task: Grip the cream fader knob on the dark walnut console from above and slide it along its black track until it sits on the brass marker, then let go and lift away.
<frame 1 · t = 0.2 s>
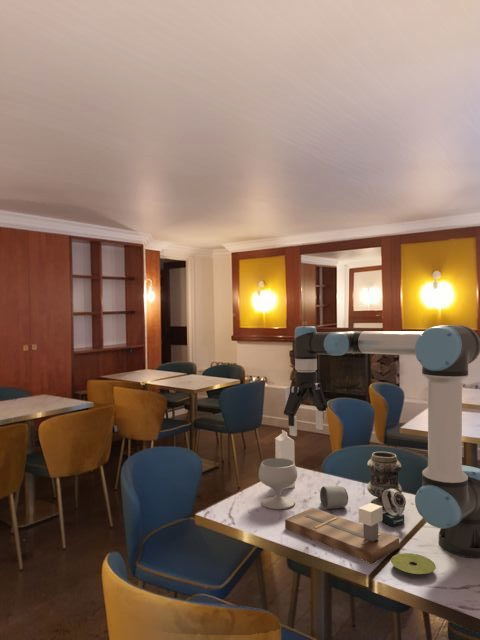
hand: (306, 432, 171), 28 cm above the table, tool pointing down, fingers open, 13 cm apart
chalice: (278, 504, 179), on the table
watch: (393, 524, 161), on the table
ceramic mug: (331, 506, 177), on the table
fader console: (339, 537, 151), on the table
mat: (412, 570, 131), on the table
milk: (285, 486, 198), on the table
apothecary jar: (384, 504, 178), on the table
fader knob: (370, 522, 143), point 8 cm above the table, slide at 0.0 cm
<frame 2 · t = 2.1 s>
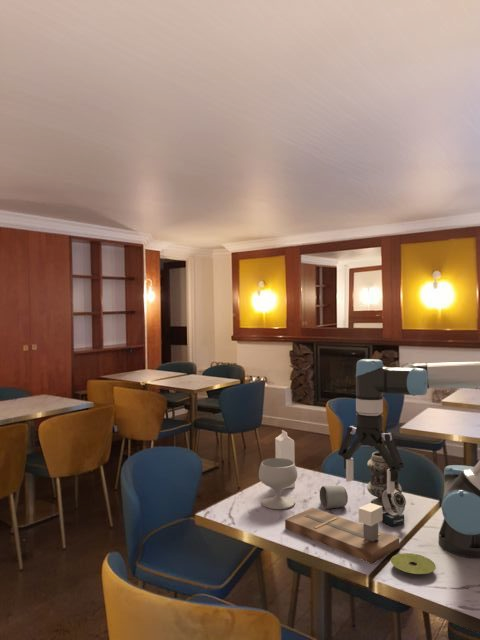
hand: (369, 486, 143), 18 cm above the table, tool pointing down, fingers open, 13 cm apart
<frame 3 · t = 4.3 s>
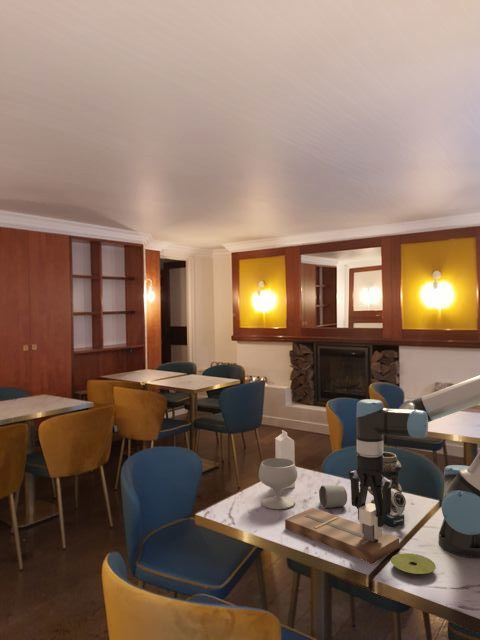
hand: (370, 534, 143), 4 cm above the table, tool pointing down, fingers closed on fader knob, 4 cm apart
fader knob: (370, 522, 143), point 8 cm above the table, slide at 0.0 cm, touching gripper
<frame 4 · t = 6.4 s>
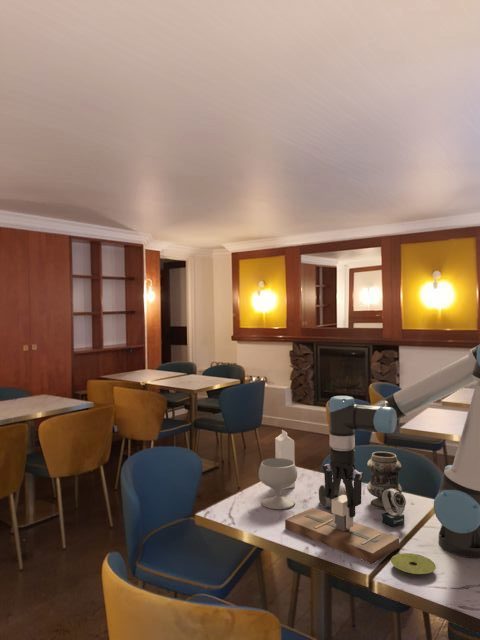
hand: (343, 524, 150), 4 cm above the table, tool pointing down, fingers closed on fader knob, 4 cm apart
fader knob: (343, 513, 150), point 8 cm above the table, slide at 9.7 cm, touching gripper
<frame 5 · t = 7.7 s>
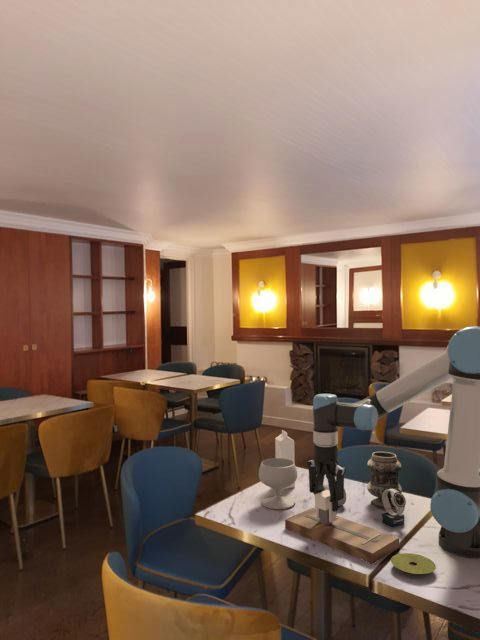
hand: (326, 518, 155), 4 cm above the table, tool pointing down, fingers closed on fader knob, 4 cm apart
fader knob: (326, 507, 155), point 8 cm above the table, slide at 15.9 cm, touching gripper
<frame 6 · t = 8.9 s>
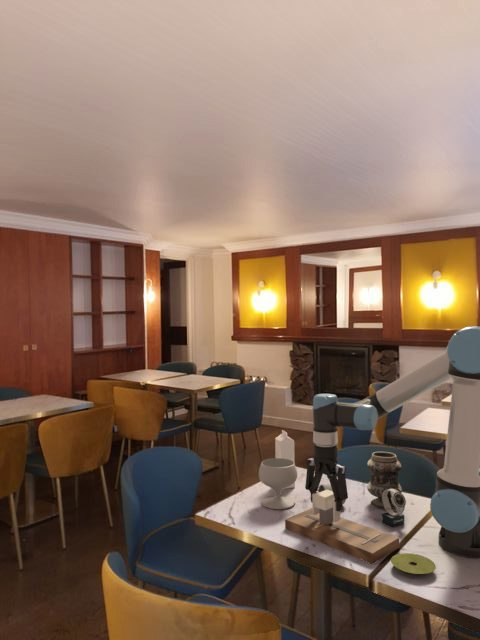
hand: (326, 517, 155), 5 cm above the table, tool pointing down, fingers open, 7 cm apart
fader knob: (326, 507, 155), point 8 cm above the table, slide at 16.0 cm
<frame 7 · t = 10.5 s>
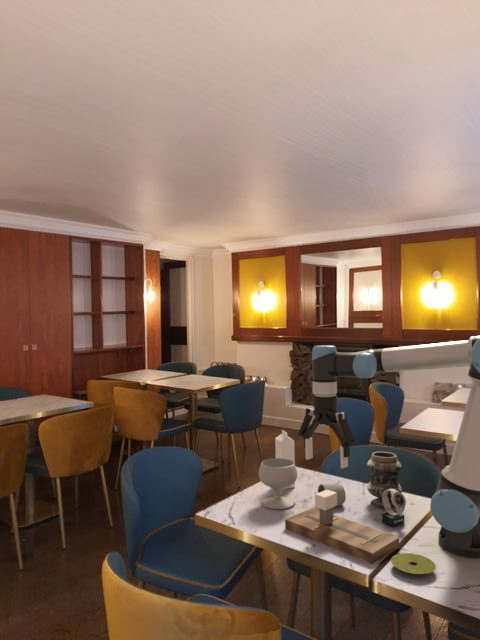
hand: (326, 462, 155), 22 cm above the table, tool pointing down, fingers open, 13 cm apart
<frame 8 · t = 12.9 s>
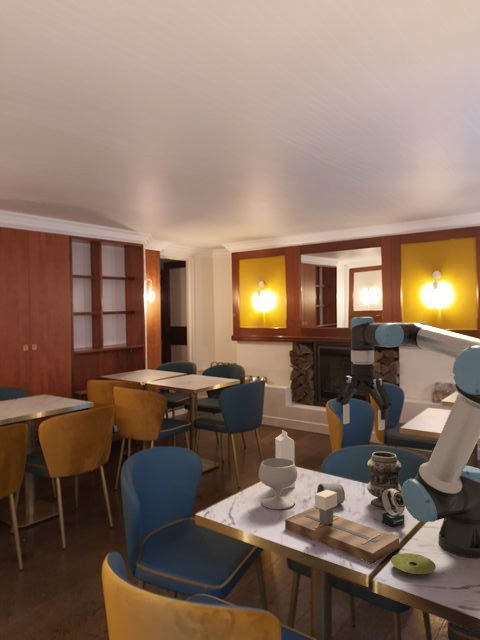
hand: (363, 426, 166), 31 cm above the table, tool pointing down, fingers open, 13 cm apart
at the end: fader knob slide at 16.0 cm; the gripper is holding nothing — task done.
